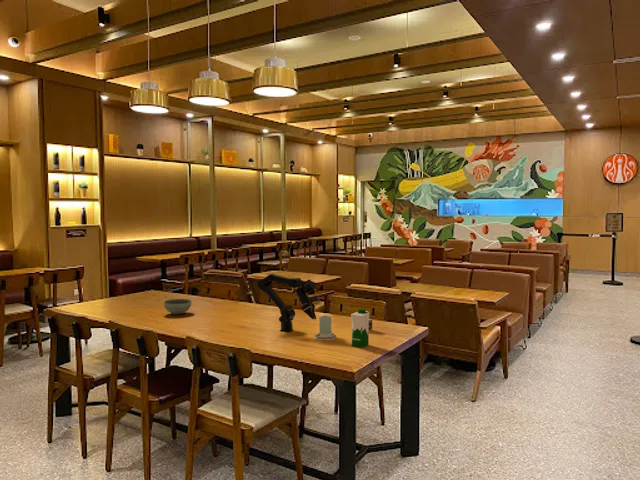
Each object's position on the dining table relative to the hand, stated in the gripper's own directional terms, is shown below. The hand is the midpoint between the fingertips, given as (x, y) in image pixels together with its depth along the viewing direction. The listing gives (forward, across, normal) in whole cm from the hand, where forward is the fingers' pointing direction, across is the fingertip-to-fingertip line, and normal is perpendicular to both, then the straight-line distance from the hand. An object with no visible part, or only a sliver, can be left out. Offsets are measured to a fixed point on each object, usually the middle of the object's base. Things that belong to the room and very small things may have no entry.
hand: (314, 319), depth 297 cm
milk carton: (+27, -19, -18) cm, 37 cm away
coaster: (+13, -4, -1) cm, 14 cm away
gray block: (+12, -4, -2) cm, 13 cm away
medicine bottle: (+20, +15, -23) cm, 34 cm away
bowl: (-56, +52, +95) cm, 122 cm away
